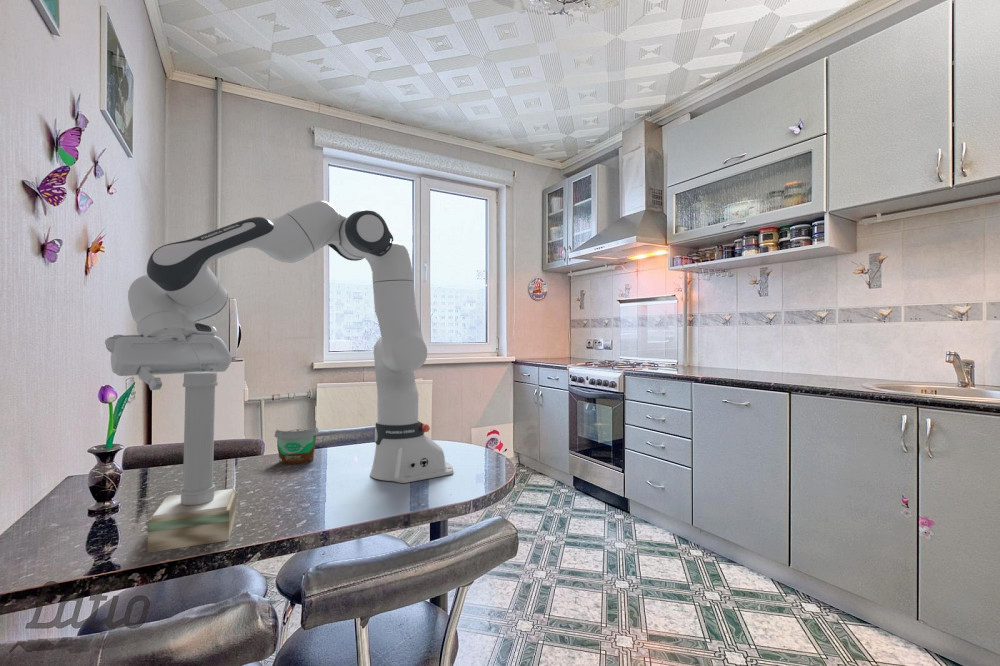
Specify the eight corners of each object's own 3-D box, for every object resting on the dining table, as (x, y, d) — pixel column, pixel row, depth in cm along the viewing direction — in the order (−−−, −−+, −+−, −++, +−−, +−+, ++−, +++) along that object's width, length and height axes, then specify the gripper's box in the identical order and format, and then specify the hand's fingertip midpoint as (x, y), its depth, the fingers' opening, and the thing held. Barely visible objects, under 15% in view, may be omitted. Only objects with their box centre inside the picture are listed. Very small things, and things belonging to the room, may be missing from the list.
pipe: (197, 507, 83) (201, 342, 83) (168, 504, 84) (173, 341, 84) (222, 497, 88) (225, 342, 89) (194, 495, 89) (198, 341, 90)
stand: (235, 517, 94) (236, 487, 94) (228, 541, 83) (229, 507, 83) (164, 526, 89) (165, 495, 89) (146, 553, 78) (147, 517, 78)
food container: (272, 468, 130) (273, 432, 130) (273, 462, 135) (274, 429, 136) (319, 463, 135) (319, 430, 135) (318, 458, 140) (319, 426, 141)
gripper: (107, 323, 86) (123, 378, 80) (223, 327, 103) (243, 372, 97) (98, 346, 88) (114, 401, 83) (213, 346, 105) (233, 392, 99)
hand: (185, 386), depth 90 cm, fingers open, 8 cm apart
